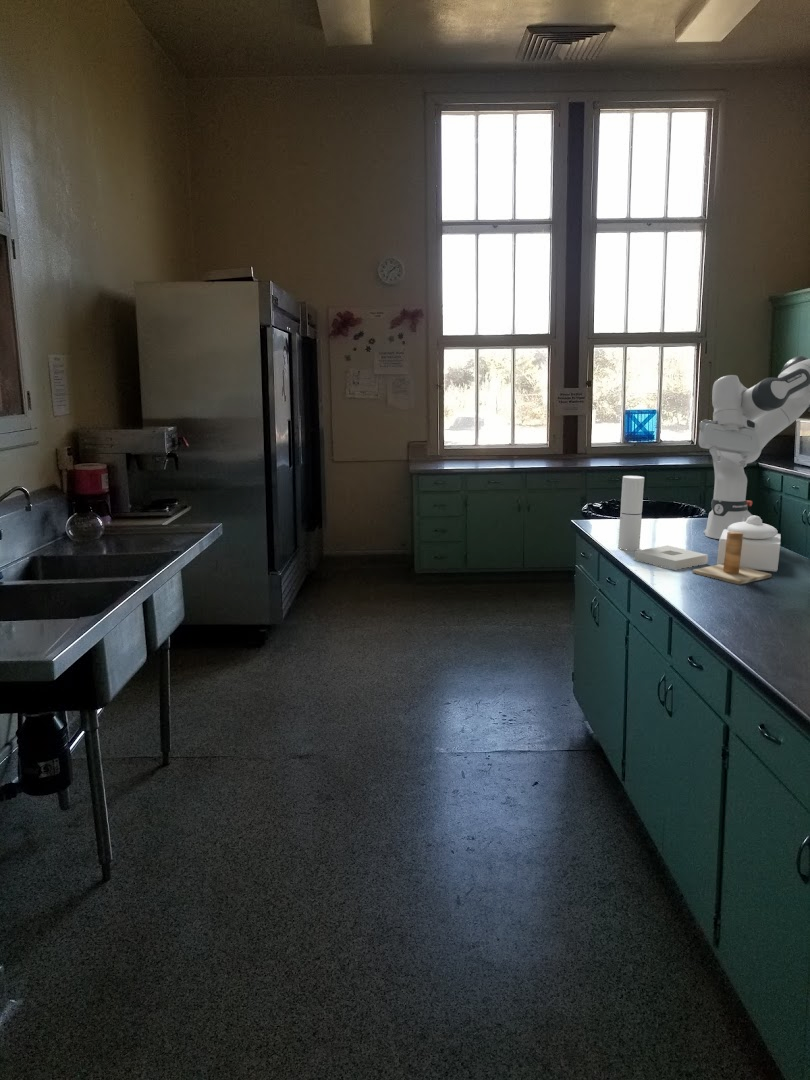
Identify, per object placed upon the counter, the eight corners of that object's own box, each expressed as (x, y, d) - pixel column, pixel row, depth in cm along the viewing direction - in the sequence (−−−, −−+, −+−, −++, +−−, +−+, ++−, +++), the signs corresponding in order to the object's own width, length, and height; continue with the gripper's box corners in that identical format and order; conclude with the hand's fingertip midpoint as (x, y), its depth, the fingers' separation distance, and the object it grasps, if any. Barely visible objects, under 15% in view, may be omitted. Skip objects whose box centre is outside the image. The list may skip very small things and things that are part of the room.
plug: (725, 569, 243) (729, 531, 240) (740, 571, 241) (744, 533, 238) (721, 572, 240) (725, 533, 237) (736, 574, 237) (741, 535, 234)
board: (724, 566, 251) (725, 563, 251) (771, 577, 238) (771, 574, 238) (692, 572, 243) (692, 569, 243) (738, 584, 230) (739, 581, 229)
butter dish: (716, 566, 252) (721, 517, 249) (720, 554, 268) (725, 508, 265) (777, 572, 245) (782, 521, 242) (777, 560, 261) (782, 512, 258)
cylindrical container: (628, 551, 271) (633, 478, 266) (613, 547, 277) (618, 476, 272) (643, 549, 274) (648, 477, 269) (629, 545, 281) (633, 475, 275)
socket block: (666, 554, 267) (667, 545, 267) (707, 563, 254) (708, 554, 254) (634, 560, 259) (635, 551, 258) (674, 570, 246) (675, 560, 245)
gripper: (705, 414, 247) (707, 455, 243) (761, 424, 252) (764, 465, 248) (693, 422, 253) (694, 462, 249) (748, 432, 257) (750, 472, 254)
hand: (730, 464), depth 249 cm, fingers open, 8 cm apart
